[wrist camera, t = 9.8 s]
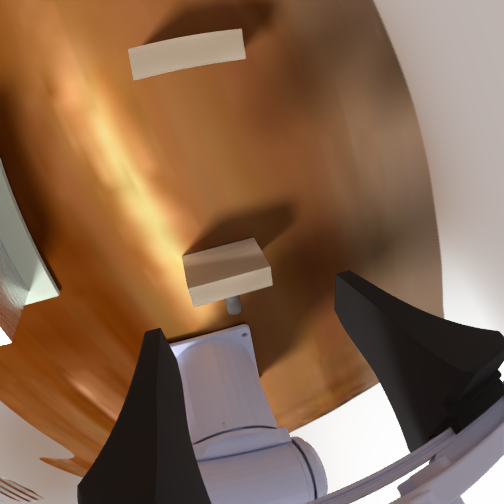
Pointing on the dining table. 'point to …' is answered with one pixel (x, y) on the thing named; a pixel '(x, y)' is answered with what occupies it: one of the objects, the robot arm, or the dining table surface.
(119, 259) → the dining table surface
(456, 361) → the robot arm
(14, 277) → the steel bar
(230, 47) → the blocks
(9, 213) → the mat
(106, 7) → the dining table surface
